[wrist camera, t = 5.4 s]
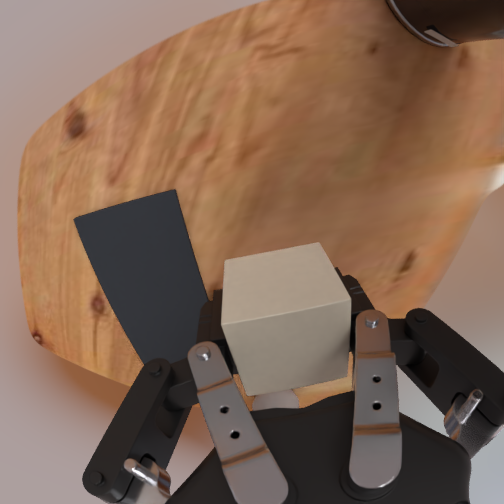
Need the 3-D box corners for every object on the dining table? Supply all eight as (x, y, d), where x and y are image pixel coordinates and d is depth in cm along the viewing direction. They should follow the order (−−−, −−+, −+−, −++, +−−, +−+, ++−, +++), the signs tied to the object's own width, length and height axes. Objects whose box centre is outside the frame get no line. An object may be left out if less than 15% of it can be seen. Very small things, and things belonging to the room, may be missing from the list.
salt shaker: (242, 397, 34) (248, 487, 22) (266, 373, 32) (280, 472, 20) (279, 406, 36) (292, 489, 24) (305, 384, 34) (325, 473, 22)
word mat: (75, 217, 22) (73, 219, 22) (175, 188, 22) (174, 190, 22) (150, 371, 31) (150, 374, 31) (230, 363, 31) (230, 365, 31)
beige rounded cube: (222, 260, 13) (217, 324, 9) (319, 241, 13) (352, 298, 9) (241, 330, 16) (244, 397, 12) (324, 314, 15) (347, 376, 11)
